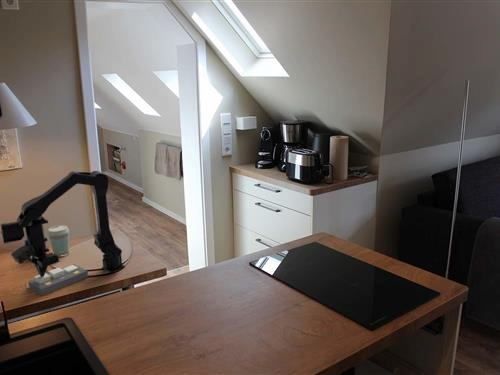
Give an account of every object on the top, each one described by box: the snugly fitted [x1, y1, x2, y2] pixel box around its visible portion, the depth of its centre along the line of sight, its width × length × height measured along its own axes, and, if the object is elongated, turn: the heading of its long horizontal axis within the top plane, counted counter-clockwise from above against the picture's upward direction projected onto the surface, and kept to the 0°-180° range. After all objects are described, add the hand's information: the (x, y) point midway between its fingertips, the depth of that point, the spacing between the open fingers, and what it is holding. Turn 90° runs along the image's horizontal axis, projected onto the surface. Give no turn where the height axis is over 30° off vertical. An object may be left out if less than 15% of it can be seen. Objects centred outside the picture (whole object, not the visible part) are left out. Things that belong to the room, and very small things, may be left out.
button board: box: [28, 263, 89, 296], centre depth 164 cm, size 18×10×3 cm, turn 140°
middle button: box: [48, 267, 65, 279], centre depth 164 cm, size 4×4×2 cm
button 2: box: [62, 264, 78, 274], centre depth 169 cm, size 4×4×2 cm
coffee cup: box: [47, 224, 70, 256], centre depth 188 cm, size 8×8×12 cm
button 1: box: [33, 272, 51, 285], centre depth 160 cm, size 4×4×2 cm
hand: (42, 276), depth 160 cm, fingers closed, pressing on button 1
